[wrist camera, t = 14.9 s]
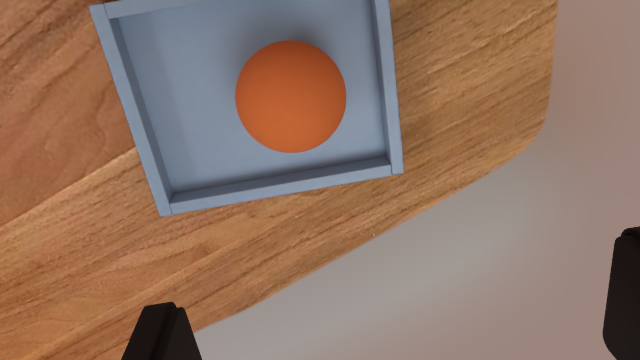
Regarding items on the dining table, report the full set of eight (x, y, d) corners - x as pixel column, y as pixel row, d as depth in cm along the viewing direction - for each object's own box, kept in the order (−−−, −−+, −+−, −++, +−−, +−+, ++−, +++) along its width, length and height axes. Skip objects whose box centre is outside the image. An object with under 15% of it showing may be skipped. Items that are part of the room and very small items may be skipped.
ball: (293, 32, 28) (360, 27, 24) (311, 126, 30) (376, 139, 26) (203, 55, 25) (260, 54, 21) (231, 158, 27) (288, 179, 23)
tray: (378, -45, 26) (385, -46, 24) (397, 162, 31) (404, 173, 30) (100, 3, 26) (87, 5, 24) (166, 203, 31) (160, 217, 29)
